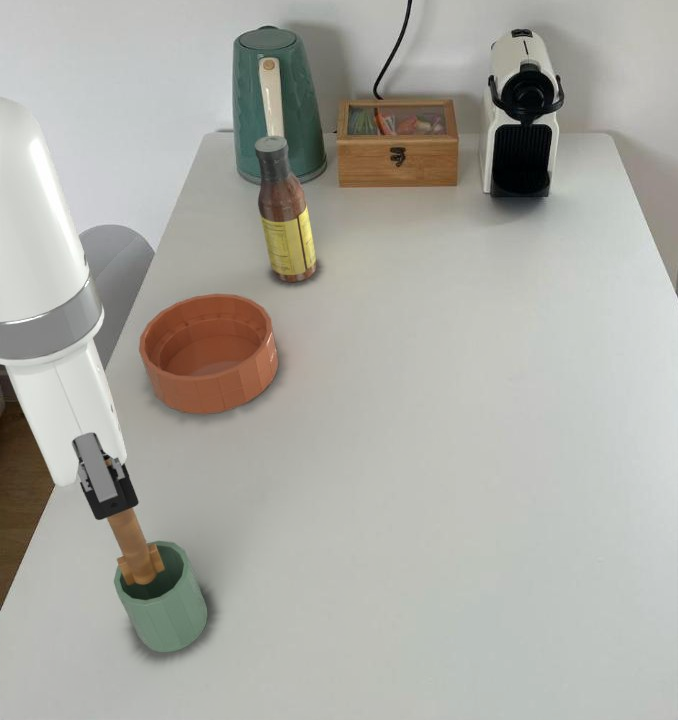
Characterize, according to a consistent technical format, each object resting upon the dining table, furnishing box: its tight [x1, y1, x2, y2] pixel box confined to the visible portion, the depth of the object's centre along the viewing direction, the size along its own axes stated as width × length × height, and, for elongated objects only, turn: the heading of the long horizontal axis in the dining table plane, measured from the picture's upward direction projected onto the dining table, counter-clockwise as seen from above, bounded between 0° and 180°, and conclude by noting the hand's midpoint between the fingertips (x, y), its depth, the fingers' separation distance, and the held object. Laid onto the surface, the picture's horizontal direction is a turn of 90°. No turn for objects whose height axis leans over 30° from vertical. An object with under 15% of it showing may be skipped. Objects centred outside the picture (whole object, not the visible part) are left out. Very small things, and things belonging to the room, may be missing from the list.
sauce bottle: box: [254, 135, 317, 283], centre depth 106 cm, size 6×6×20 cm
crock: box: [113, 540, 208, 653], centre depth 71 cm, size 6×6×8 cm
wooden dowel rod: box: [105, 459, 165, 585], centre depth 63 cm, size 3×2×16 cm, turn 118°
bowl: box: [138, 293, 279, 415], centre depth 96 cm, size 15×15×6 cm
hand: (112, 496), depth 61 cm, fingers closed on wooden dowel rod, 2 cm apart
